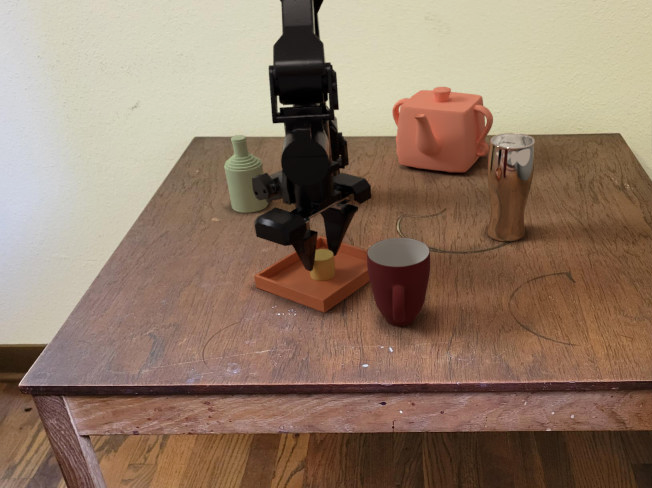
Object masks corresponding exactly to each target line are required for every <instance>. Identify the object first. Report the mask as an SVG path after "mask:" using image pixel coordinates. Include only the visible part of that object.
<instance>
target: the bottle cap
mask: <svg viewBox="0 0 652 488" xmlns="http://www.w3.org/2000/svg"><path fill="white" fill-rule="evenodd" d="M310 276H311V278H312V279H314V280H317V281H326V280H329V279H332V278H333V277H334V276H335V261H334V255H333V252H332V251H330V250H327V249H317V250H316V253H315V262H314V267H313V270H312V271H310Z"/></svg>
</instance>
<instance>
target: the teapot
mask: <svg viewBox="0 0 652 488" xmlns="http://www.w3.org/2000/svg"><path fill="white" fill-rule="evenodd" d="M391 113H392V114H391V115H392V118H393V120H394V123H395V125H396V127H397V130H396V135H395V144H396V156H397V160H398V163H399V164H400V165H401V166H406V167H411V168H414V169H421V170H422V169H424V170H430V171H439V172H440V171H441V172H446V173H451V174H453V173H466V172H468V170H470V168H472V166H474V164H475V163H476V162H477V161H478V159H479V158H480V157H485V156H488V154H489V149H490V144H489V143H488V142H487V141H486V137H487V136H488V134H489V133H490V131H491V129H492V127H493V125H494V116H493V114H492V112H491V111H490V109H489V108H488V107H486V106H484V100H483V96H482V95H480V94H473V93H467V92H456V91H452V88H450V87H447V86H437V87H434V88H433V89H432V90H431V89H430V90H429V89H428V90H427V89H421V90H419V91H417V92H416V93H415V94H412V96H411V97H405V98H401V99H398V100H397V101H396V102H395V103H394V105H393V107H392V112H391Z"/></svg>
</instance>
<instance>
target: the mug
mask: <svg viewBox="0 0 652 488" xmlns="http://www.w3.org/2000/svg"><path fill="white" fill-rule="evenodd" d="M367 250H368V251H367V268H368V275H369V279H370V281H369V283H370V287H371V291H372V294H373V299H374V302H375V306H376V307H377V309H378V311H379V313H380V314H381V316H382V317H383V318H384V320H385V321H386V323H388V324H389V325H391V326H394V327H406V326H409V325H411V324H413V323H414V322H415V321H416V319H417V317H418V316H419V314H421V311H422V309H423V307H424V304H425V301H426V295H427V291H428V285H429V280H430V274H431V250H430V247H429V246H428V245H427V244H426V243H424V242H423V241H422V240H419V239H415V238H412V237H389V238H385V239H381V240H379V241H376V242H374V243H373V244H371V245H370V246H369V247H368V249H367Z"/></svg>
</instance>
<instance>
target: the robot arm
mask: <svg viewBox="0 0 652 488" xmlns="http://www.w3.org/2000/svg"><path fill="white" fill-rule="evenodd" d="M279 1H280V3H281V29H282V33H281V35H280V36H279V38H278V39H277V40H276V42H275V43H274V44H273V46H272V64H269V65H268V82H269V84H268V85H269V95H270V110H271V120H272V124H283V127H284V128H283V129H284V138H283V143H282V145H283V146H282V151H281V158H280V165H281V170H279V171H276V172H274V173H272V174H269V172H263V173H264V174H259V175H257V176H255V177H253V178H252V188H253V192H254V194H255V197H256V198H257V199H258V200H264V199H266V201H267V203H268V204H269V203H272V202H273V201H277V200H282V202H283V204H285V205H288V206H290V205H294V207H295V208H293V209H292V210H291V211H289V210H285V209H282V208H279V207H273V208H272V209H269V210H268V211H266V212H264V213H261V214H260V215H259V216H257V217H256V218H255V220H253V222H254V223H253V224H254V230H255V236H256V238H260V239H263V240H265V241H268V242H272V243H274V244H277V245H280V246H282V247H283V246H284V247H287V246H288V247H289V246H292V247H293V249H294V251H296V253H297V255H298V256H299V258H300V260H301V262H302V264H303V266H304V267H305V269H306V270H308V271H312V270H313V267H314V262H315V253H316V244H317V238H318V237H319V232H318V231H315V230H313V229H311V225H310V223H311V219H313V218H314V217H316V216H318V215H321V217H322V219H323V225H324V232H325V237H326V239H327V245H328V250H330V251H332V252H333V255H334V256H336V255H337V253H338V251H339V248H340V246H341V243H342V242H343V241H344V238H345V236H346V233H347V232H348V229H349V227H350V225H351V224H352V221H353V218H354V216H355V214H356V213H357V212H358V211H359V206H358V205H355V204H351V201H352V200H351V199H350V196H351V195H353V201H354V202H355V203H356V204H359V205H363V204H364V203H365V202H367V201H369V200H371V199H372V186H371V184H370V183H369V181H368V180H367V178H364V177H361V176H357V175H353V174H349V173H346V172H341V169H342V170H345V169H346V167H347V166H349V164H350V161H349V150H348V149H349V148H348V141H347V139H346V138H345V136H343V132H342V131H339V126H338V118H337V116H336V115H335V111H340V105H339V88H338V77H337V71H336V70H334V67H333V64H332V62H331V61H330V62H326V54H325V46H324V42H323V41H322V40H321V33H320V31H321V30H320V21H319V11H320V10H321V7H322V5H323V3H324V0H279ZM278 101H279V102H278ZM327 102H328V104H327ZM278 103H279V104H280V105H282V107H278ZM328 105H329V106H328ZM278 109H279V111H278Z"/></svg>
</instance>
